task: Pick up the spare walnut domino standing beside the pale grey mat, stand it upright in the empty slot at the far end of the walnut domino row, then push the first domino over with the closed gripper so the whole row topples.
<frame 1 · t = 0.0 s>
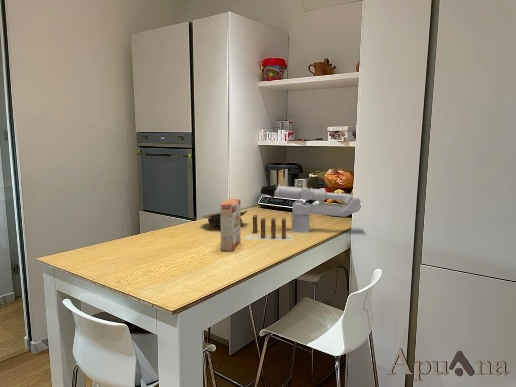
hand: (261, 189, 202), 22 cm above the table, tool horizontal, fingers open, 7 cm apart
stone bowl: (224, 226, 216), on the table
tile 1: (283, 237, 189), point 1 cm above the table, touching mat
mat: (268, 238, 190), on the table
tile 4: (255, 233, 201), on the table
tile 2: (273, 237, 190), point 1 cm above the table, touching mat
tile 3: (263, 237, 190), point 1 cm above the table, touching mat
cracker box: (231, 247, 177), on the table
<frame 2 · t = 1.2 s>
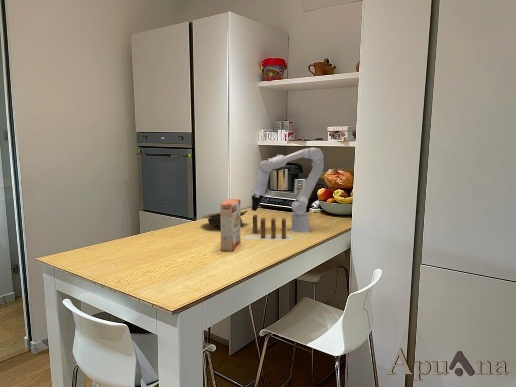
hand: (254, 209, 200), 12 cm above the table, tool tilted 15°, fingers open, 7 cm apart
nothing on the table moved.
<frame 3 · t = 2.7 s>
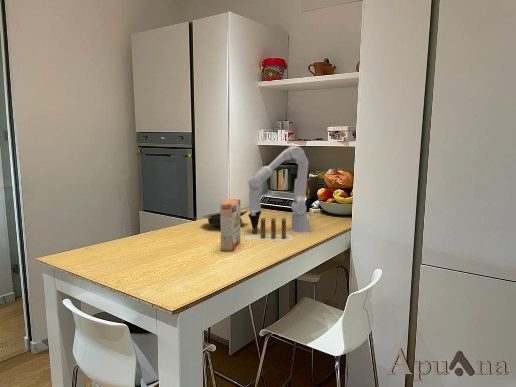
hand: (255, 226, 200), 3 cm above the table, tool pointing down, fingers closed on tile 4, 5 cm apart
tile 4: (255, 233, 201), on the table, touching gripper
everything else where it was.
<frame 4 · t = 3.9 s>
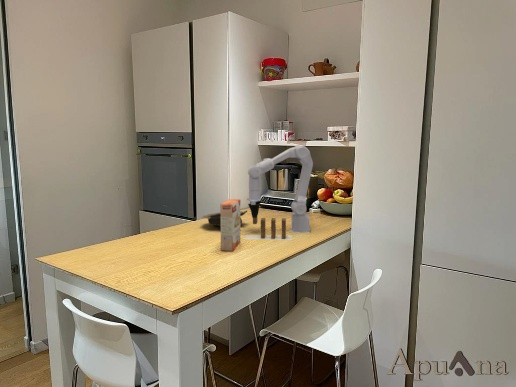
hand: (255, 216, 199), 9 cm above the table, tool pointing down, fingers closed on tile 4, 5 cm apart
tile 4: (255, 223, 200), point 5 cm above the table, touching gripper
everything else where it was.
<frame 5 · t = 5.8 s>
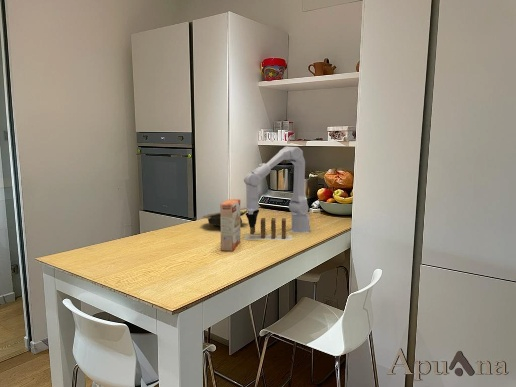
hand: (252, 226, 190), 6 cm above the table, tool pointing down, fingers closed on tile 4, 5 cm apart
tile 4: (252, 232, 191), point 3 cm above the table, touching gripper
everything else where it was.
when the fingers open (5 cm above the table, at t = 6.6 s): tile 4 stays where it is, resting on mat.
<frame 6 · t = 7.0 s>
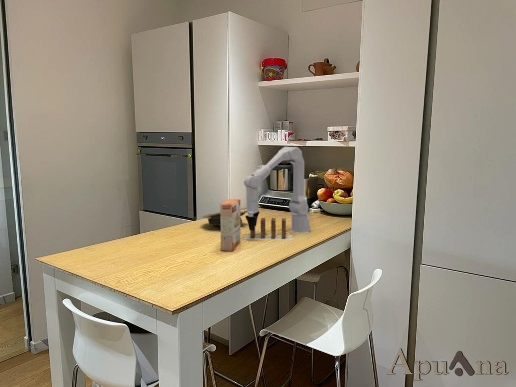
hand: (252, 228, 190), 5 cm above the table, tool pointing down, fingers open, 7 cm apart
tile 4: (252, 237, 191), point 1 cm above the table, touching mat
everything else where it was.
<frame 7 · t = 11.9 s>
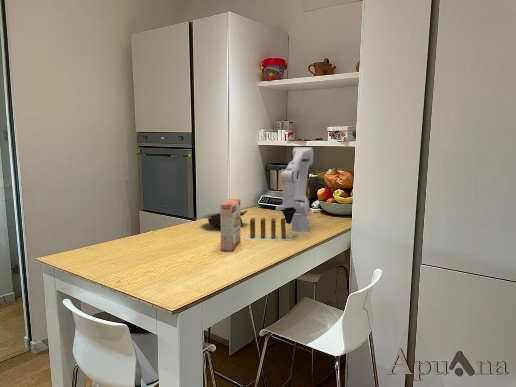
hand: (288, 223, 188), 8 cm above the table, tool pointing down, fingers closed
tile 1: (283, 237, 189), point 1 cm above the table, touching gripper, mat
everything else where it was.
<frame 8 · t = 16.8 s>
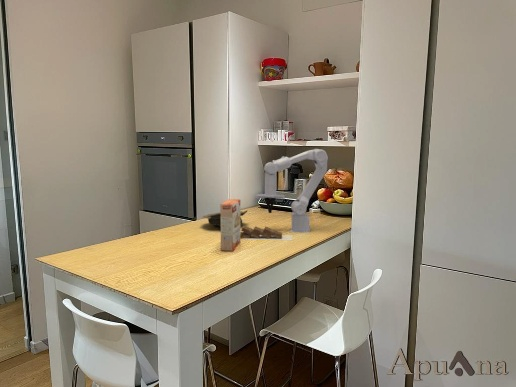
hand: (270, 212, 200), 10 cm above the table, tool pointing down, fingers closed
tile 1: (281, 235, 189), point 1 cm above the table, tilted 69°, touching mat, tile 2
tile 4: (250, 235, 191), point 1 cm above the table, tilted 90°, touching mat, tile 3
tile 2: (271, 235, 190), point 1 cm above the table, tilted 69°, touching mat, tile 1, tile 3
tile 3: (259, 235, 190), point 1 cm above the table, tilted 65°, touching tile 2, tile 4
everything else where it was.
at the end: tile 4 tilted 90°; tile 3 tilted 65°; the gripper is holding nothing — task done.
